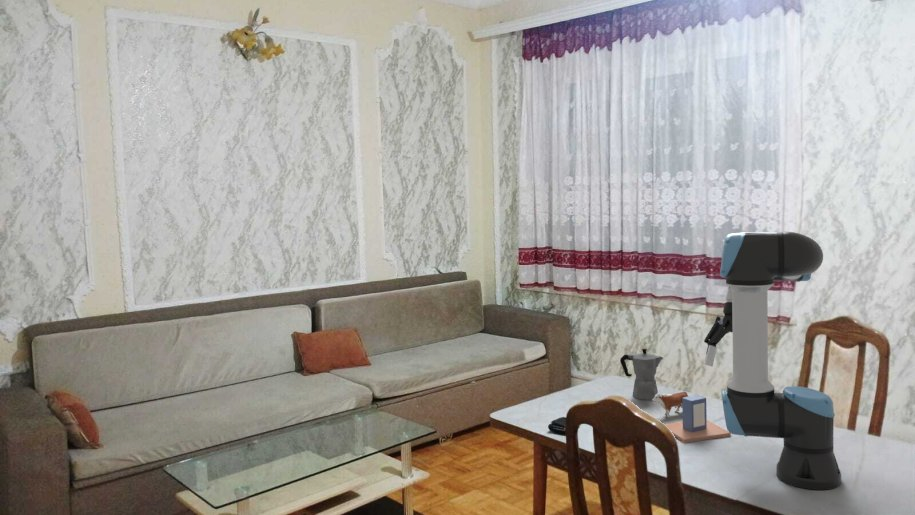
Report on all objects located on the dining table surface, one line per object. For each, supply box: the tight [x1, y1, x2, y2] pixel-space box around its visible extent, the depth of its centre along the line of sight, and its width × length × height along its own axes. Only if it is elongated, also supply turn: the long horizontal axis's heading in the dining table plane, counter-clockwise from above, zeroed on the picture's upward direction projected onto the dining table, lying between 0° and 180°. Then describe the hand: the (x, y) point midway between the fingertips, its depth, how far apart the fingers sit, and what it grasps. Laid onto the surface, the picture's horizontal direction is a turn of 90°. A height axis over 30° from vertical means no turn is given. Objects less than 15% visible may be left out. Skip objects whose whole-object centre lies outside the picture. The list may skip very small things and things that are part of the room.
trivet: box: [665, 419, 732, 444], centre depth 219 cm, size 14×16×1 cm
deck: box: [681, 394, 708, 432], centre depth 218 cm, size 6×4×10 cm
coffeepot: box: [619, 348, 664, 401], centre depth 257 cm, size 15×9×18 cm, turn 75°
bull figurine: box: [651, 391, 689, 418], centre depth 236 cm, size 4×13×8 cm, turn 107°
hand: (722, 368), depth 223 cm, fingers open, 13 cm apart
